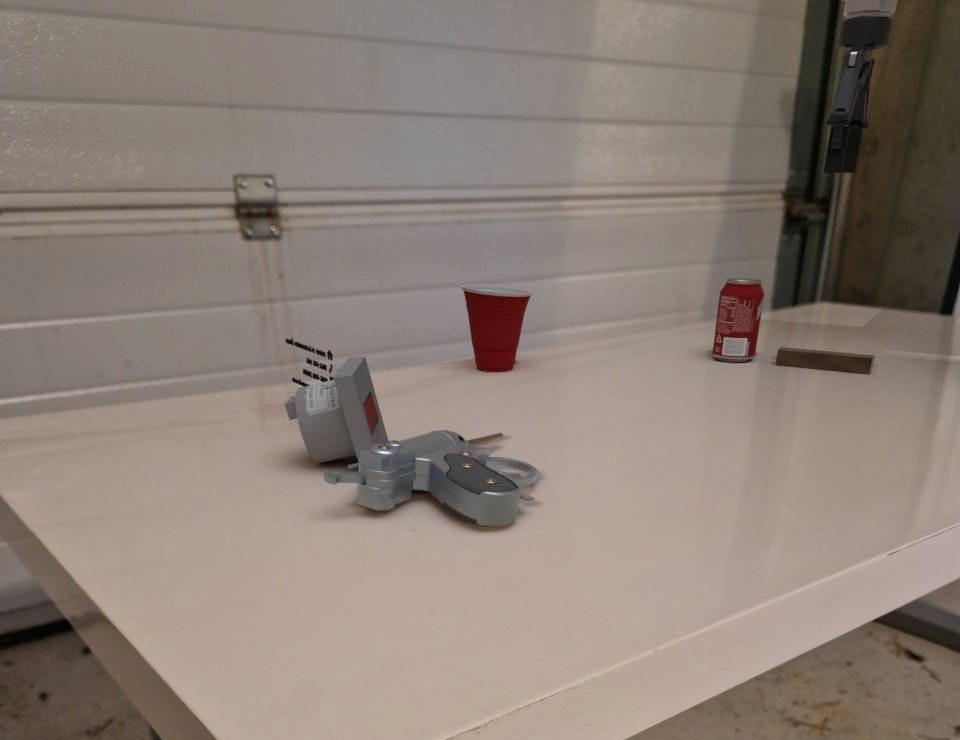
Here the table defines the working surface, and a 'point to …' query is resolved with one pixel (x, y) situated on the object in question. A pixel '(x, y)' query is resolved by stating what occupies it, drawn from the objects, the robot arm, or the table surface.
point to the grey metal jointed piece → (441, 476)
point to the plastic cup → (495, 323)
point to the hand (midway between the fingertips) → (839, 173)
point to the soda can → (738, 320)
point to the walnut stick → (825, 360)
